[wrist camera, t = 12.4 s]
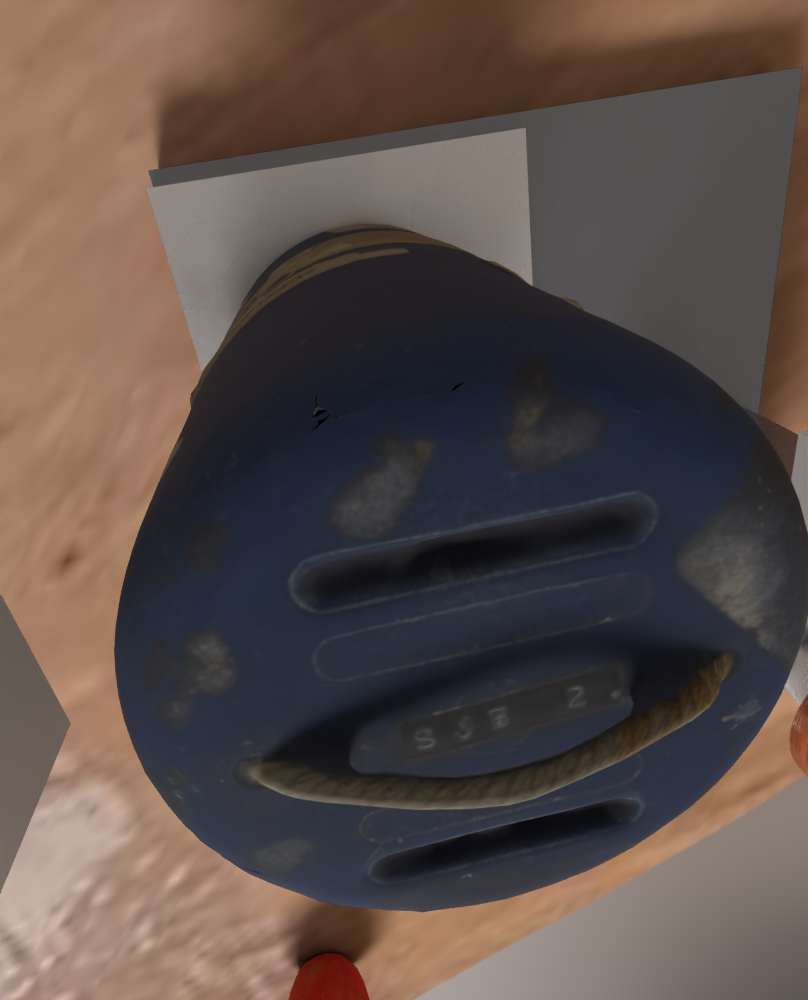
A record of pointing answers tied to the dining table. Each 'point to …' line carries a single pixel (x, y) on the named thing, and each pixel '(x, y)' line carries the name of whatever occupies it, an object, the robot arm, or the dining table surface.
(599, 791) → the canister
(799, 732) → the pin
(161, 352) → the dining table surface
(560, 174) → the grey l-shaped stand
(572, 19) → the dining table surface
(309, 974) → the apple
